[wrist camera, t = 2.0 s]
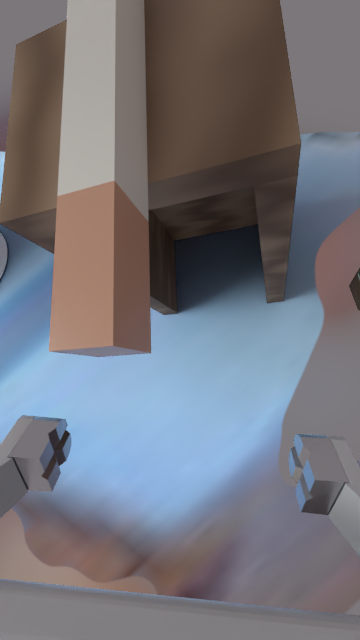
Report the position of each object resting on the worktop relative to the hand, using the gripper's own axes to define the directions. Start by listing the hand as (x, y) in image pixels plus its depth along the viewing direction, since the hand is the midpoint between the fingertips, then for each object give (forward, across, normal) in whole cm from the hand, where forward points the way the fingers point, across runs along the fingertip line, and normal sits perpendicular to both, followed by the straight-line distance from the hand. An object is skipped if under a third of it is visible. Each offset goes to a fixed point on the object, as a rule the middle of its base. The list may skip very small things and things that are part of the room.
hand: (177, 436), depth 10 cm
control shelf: (+32, -3, +4) cm, 32 cm away
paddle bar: (+10, +4, -9) cm, 13 cm away
